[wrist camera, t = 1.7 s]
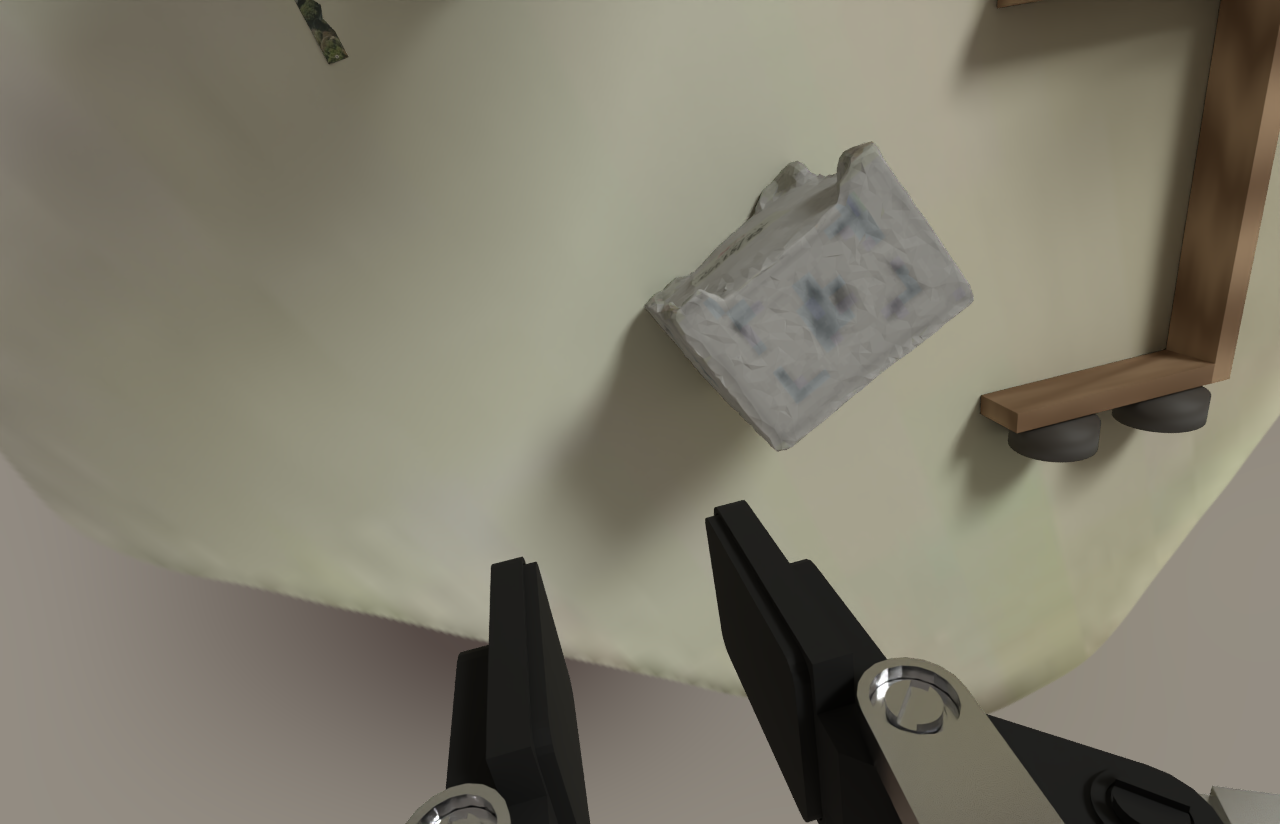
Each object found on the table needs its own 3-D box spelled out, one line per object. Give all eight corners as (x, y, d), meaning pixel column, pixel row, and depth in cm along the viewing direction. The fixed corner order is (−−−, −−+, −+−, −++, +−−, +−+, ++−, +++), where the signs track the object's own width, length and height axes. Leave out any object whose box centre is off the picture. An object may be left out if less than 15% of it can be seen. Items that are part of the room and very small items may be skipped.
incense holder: (777, 140, 31) (900, 133, 21) (861, 275, 34) (999, 321, 25) (619, 276, 32) (669, 327, 22) (716, 395, 35) (795, 483, 26)
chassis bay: (1000, -68, 29) (1078, -104, 25) (1259, -110, 31) (1372, -149, 27) (979, 440, 40) (1033, 472, 36) (1175, 390, 41) (1248, 415, 37)
